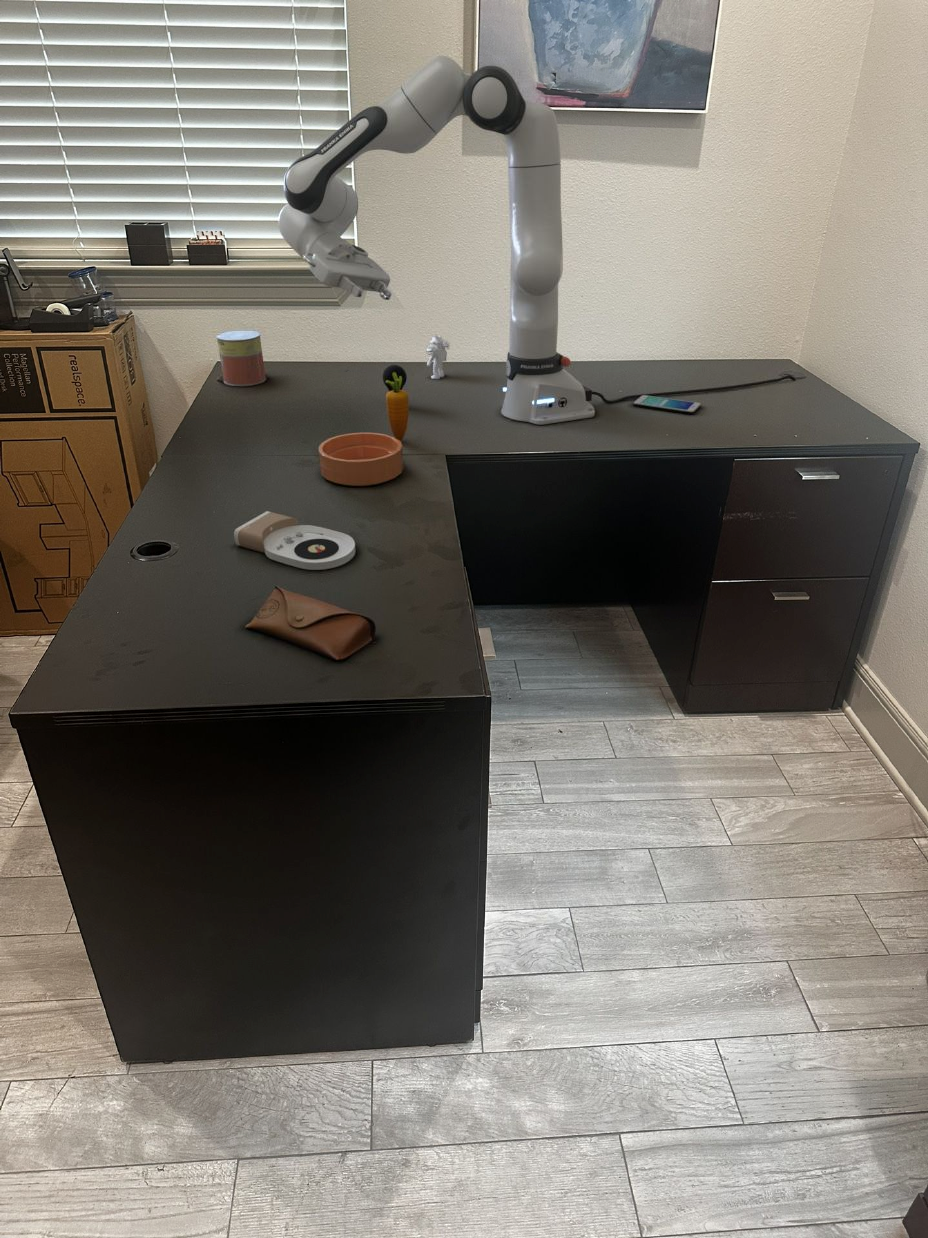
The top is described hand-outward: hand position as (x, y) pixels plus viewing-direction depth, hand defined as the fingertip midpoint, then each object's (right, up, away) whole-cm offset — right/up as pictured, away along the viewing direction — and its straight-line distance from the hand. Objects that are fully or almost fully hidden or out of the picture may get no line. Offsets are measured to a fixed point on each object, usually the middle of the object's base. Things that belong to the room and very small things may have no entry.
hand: (374, 295), depth 178 cm
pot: (-2, -39, -8) cm, 40 cm away
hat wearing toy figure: (+12, -3, +51) cm, 53 cm away
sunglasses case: (-3, -71, -59) cm, 93 cm away
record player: (-9, -57, -37) cm, 69 cm away
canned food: (-41, -4, +49) cm, 64 cm away
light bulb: (+2, -16, +29) cm, 34 cm away
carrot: (+5, -30, +7) cm, 31 cm away
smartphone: (+69, -17, +27) cm, 76 cm away
